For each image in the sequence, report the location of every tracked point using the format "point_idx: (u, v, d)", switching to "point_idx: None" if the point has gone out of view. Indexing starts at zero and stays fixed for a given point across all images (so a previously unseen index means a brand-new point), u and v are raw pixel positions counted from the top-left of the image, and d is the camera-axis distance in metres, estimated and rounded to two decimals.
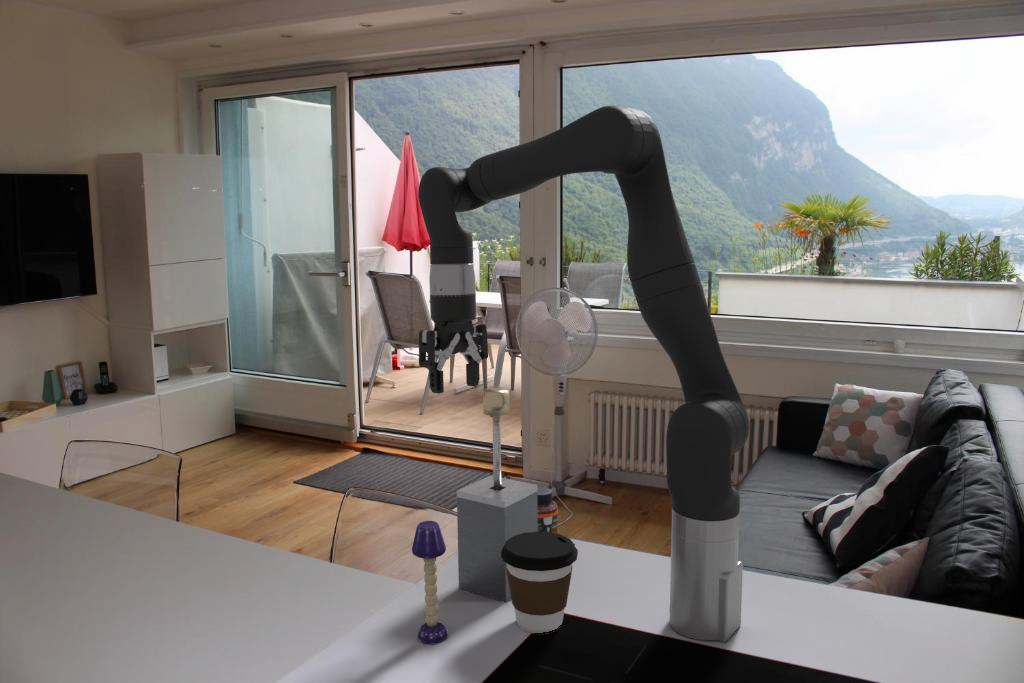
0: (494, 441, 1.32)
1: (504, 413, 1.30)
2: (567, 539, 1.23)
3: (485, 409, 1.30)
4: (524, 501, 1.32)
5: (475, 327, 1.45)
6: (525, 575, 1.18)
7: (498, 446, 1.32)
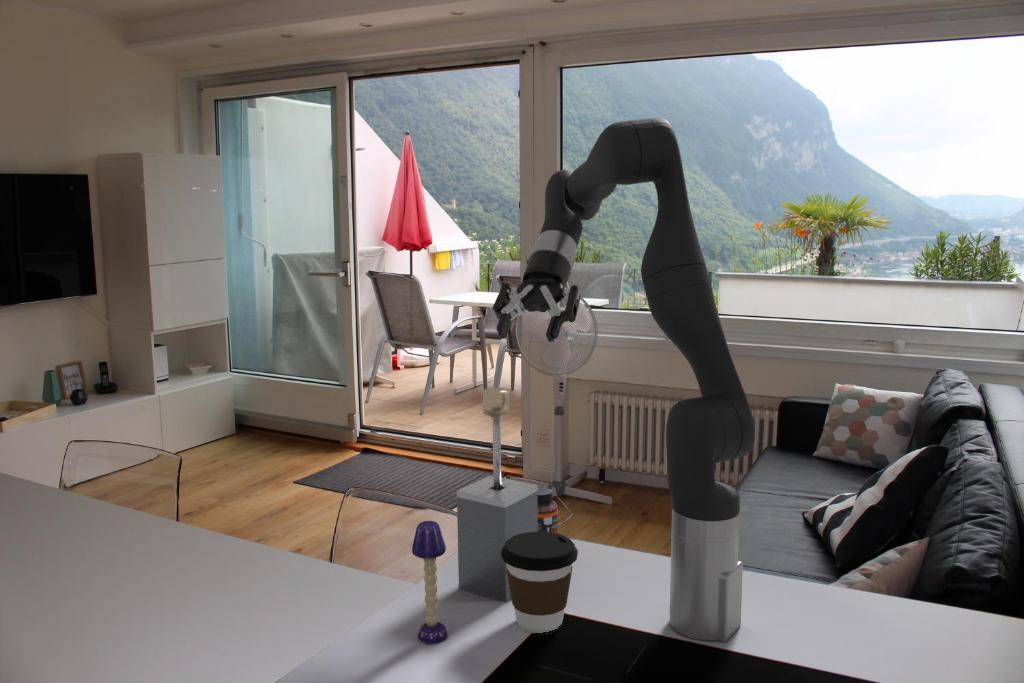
0: (494, 441, 1.32)
1: (504, 413, 1.30)
2: (567, 539, 1.23)
3: (485, 409, 1.30)
4: (524, 501, 1.32)
5: (567, 289, 1.43)
6: (525, 575, 1.18)
7: (498, 446, 1.32)
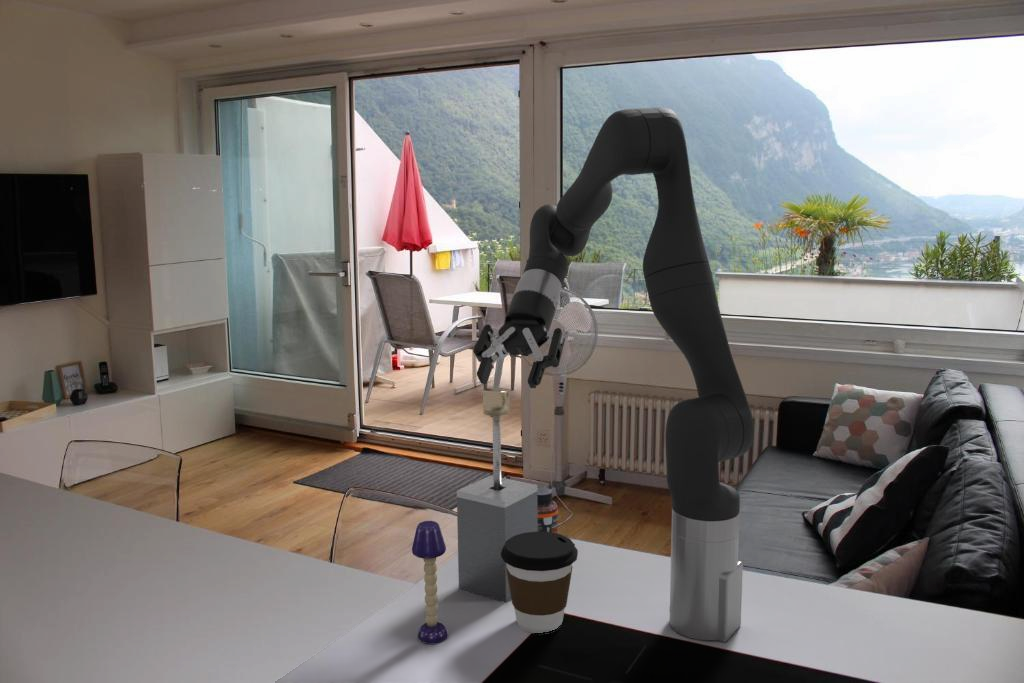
0: (494, 441, 1.32)
1: (504, 413, 1.30)
2: (567, 539, 1.23)
3: (485, 409, 1.30)
4: (524, 501, 1.32)
5: (550, 332, 1.37)
6: (525, 575, 1.18)
7: (498, 446, 1.32)
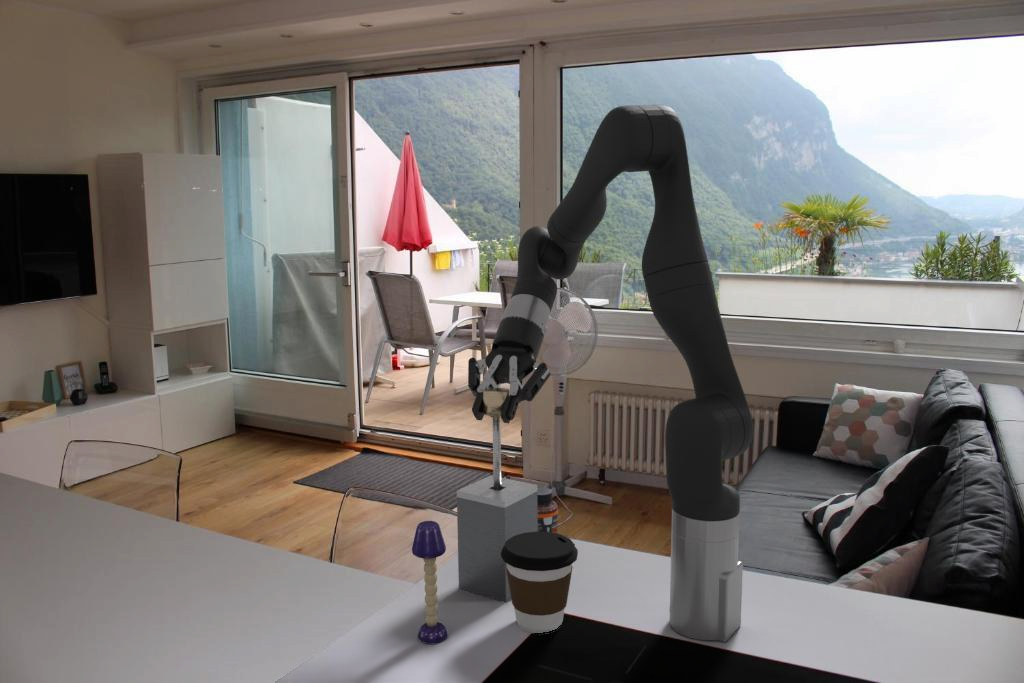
0: (494, 441, 1.32)
1: None
2: (567, 539, 1.23)
3: (485, 409, 1.30)
4: (524, 501, 1.32)
5: (537, 364, 1.33)
6: (525, 575, 1.18)
7: (498, 446, 1.32)
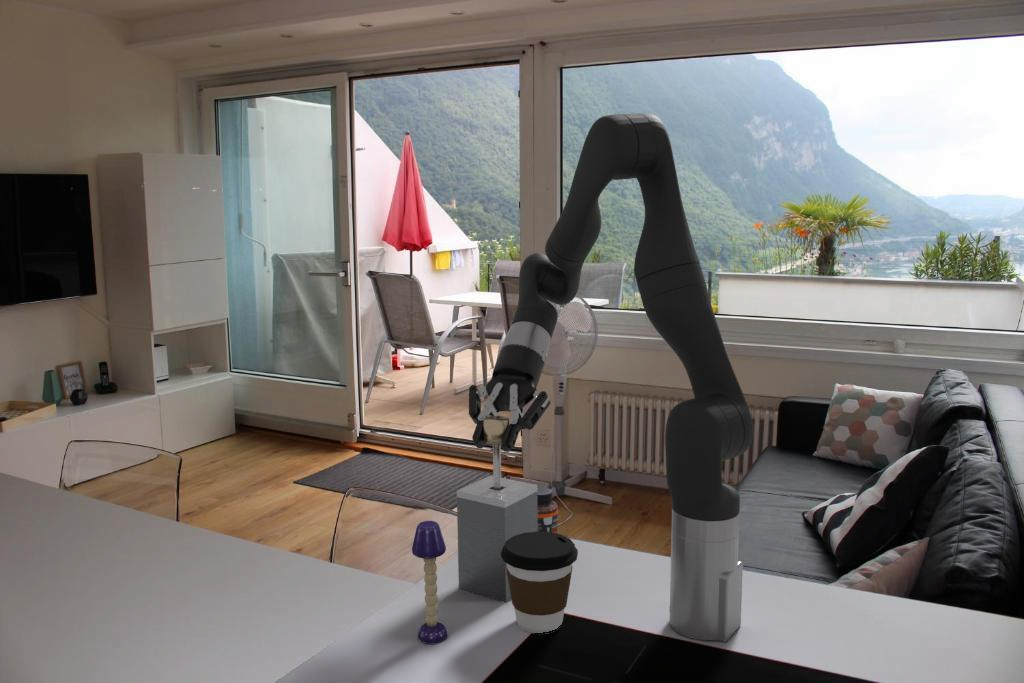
0: (494, 469, 1.33)
1: None
2: (567, 539, 1.23)
3: (485, 438, 1.31)
4: (524, 501, 1.32)
5: (537, 392, 1.34)
6: (525, 575, 1.18)
7: (498, 474, 1.33)
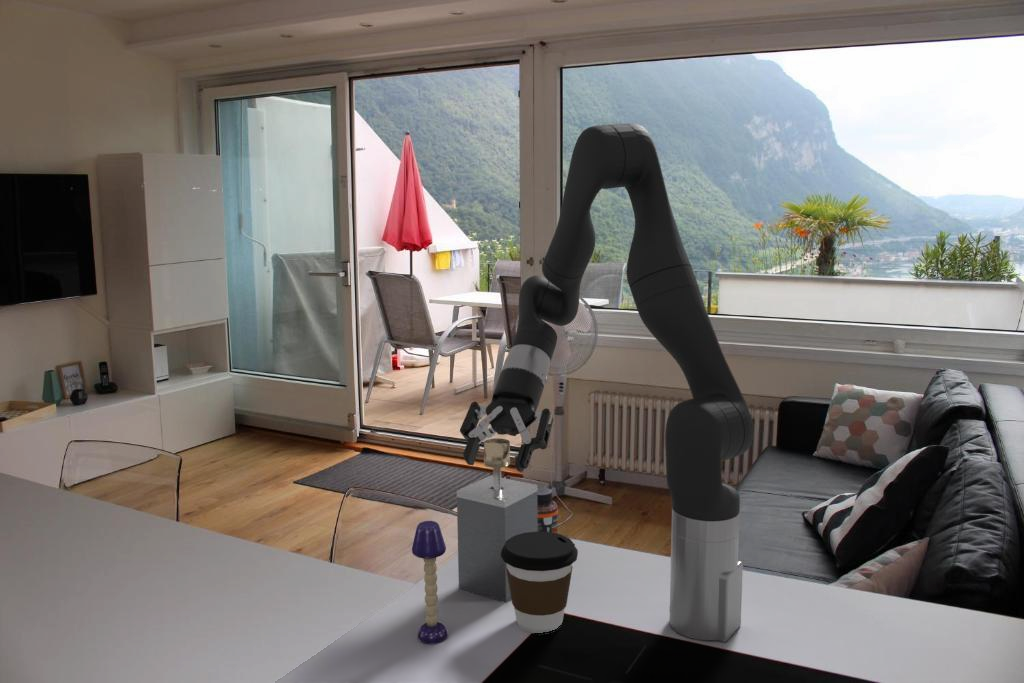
0: None
1: (504, 465, 1.31)
2: (567, 539, 1.23)
3: (486, 461, 1.32)
4: (524, 501, 1.32)
5: (538, 412, 1.35)
6: (525, 575, 1.18)
7: None
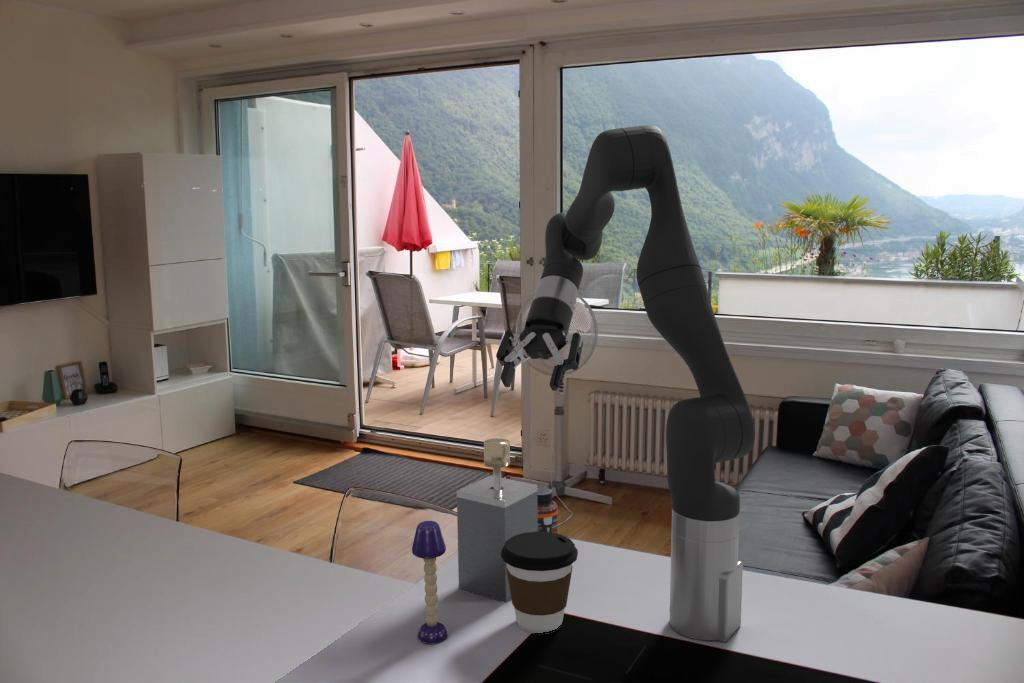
0: None
1: (504, 465, 1.31)
2: (567, 539, 1.23)
3: (486, 461, 1.32)
4: (524, 501, 1.32)
5: (569, 337, 1.45)
6: (525, 575, 1.18)
7: None
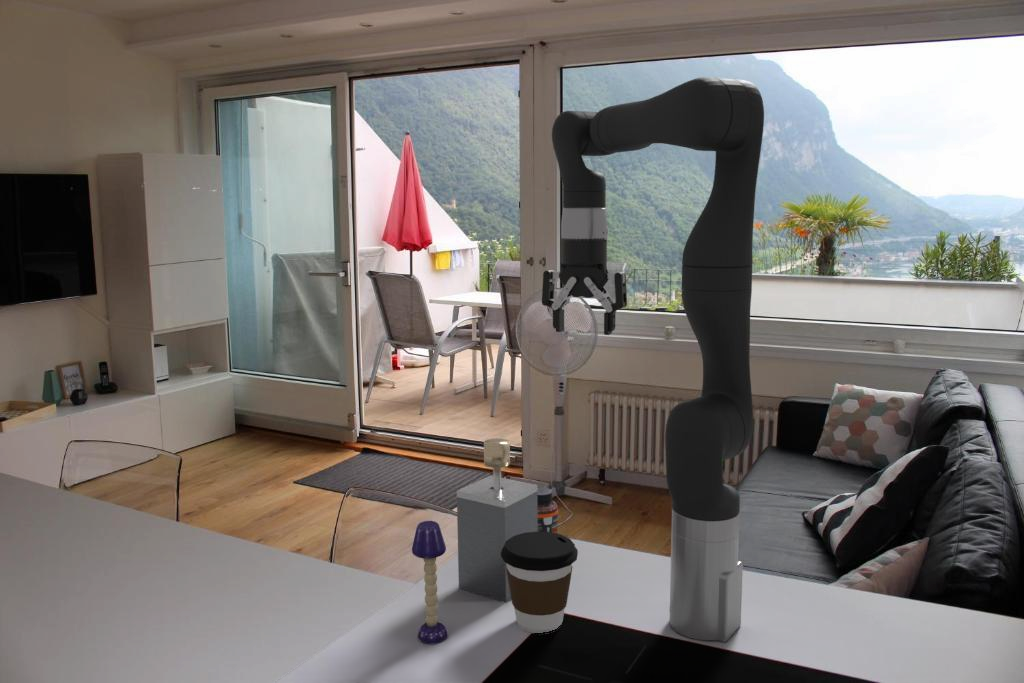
0: None
1: (504, 465, 1.31)
2: (567, 539, 1.23)
3: (486, 461, 1.32)
4: (524, 501, 1.32)
5: (611, 274, 1.40)
6: (525, 575, 1.18)
7: None
